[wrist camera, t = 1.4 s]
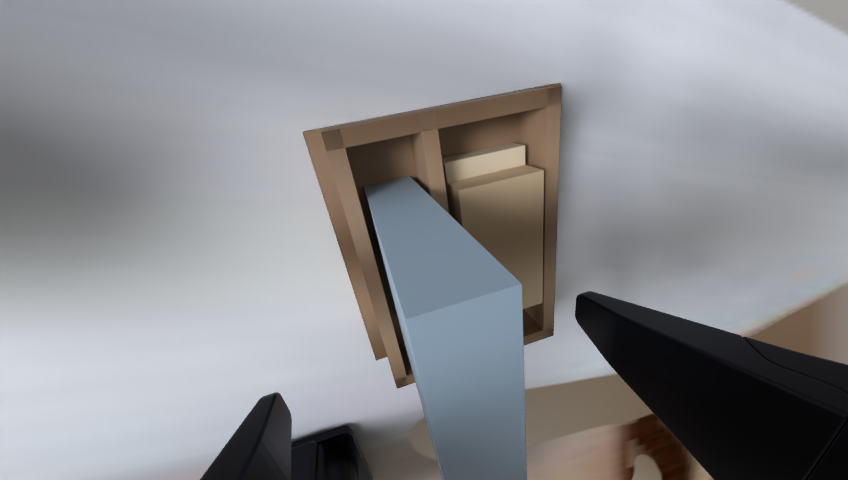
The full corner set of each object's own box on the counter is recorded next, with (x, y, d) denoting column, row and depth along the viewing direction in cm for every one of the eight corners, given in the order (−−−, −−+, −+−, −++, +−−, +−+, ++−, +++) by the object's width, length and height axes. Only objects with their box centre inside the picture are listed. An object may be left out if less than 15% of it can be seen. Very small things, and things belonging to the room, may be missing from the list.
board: (433, 304, 16) (527, 500, 8) (397, 315, 16) (456, 530, 8) (409, 176, 13) (521, 284, 5) (363, 186, 13) (405, 319, 5)
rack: (547, 297, 19) (579, 326, 16) (374, 352, 17) (381, 394, 15) (552, 84, 14) (599, 78, 11) (304, 131, 12) (295, 137, 9)
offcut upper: (527, 288, 15) (542, 303, 14) (463, 308, 15) (474, 324, 14) (525, 164, 13) (543, 170, 12) (447, 183, 12) (458, 190, 11)
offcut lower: (514, 287, 17) (527, 301, 16) (456, 305, 16) (465, 320, 15) (509, 142, 14) (525, 145, 12) (435, 158, 13) (444, 163, 12)
